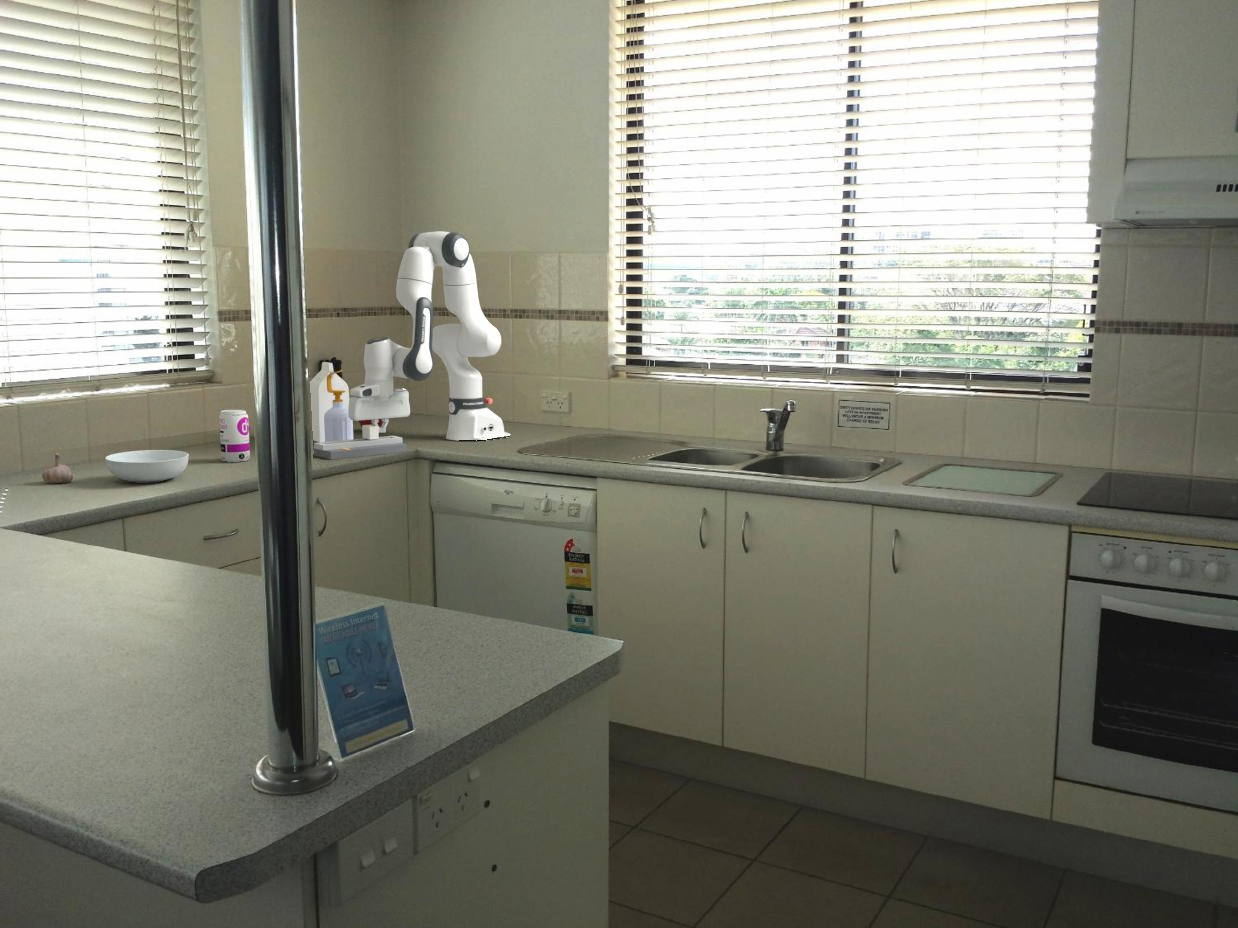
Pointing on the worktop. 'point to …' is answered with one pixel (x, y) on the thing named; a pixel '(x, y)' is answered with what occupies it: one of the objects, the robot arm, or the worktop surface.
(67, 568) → the worktop surface
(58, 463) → the garlic bulb
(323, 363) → the milk
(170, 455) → the serving bowl
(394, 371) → the robot arm
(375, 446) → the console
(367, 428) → the white small block
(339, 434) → the soap bottle
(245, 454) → the supplement can
